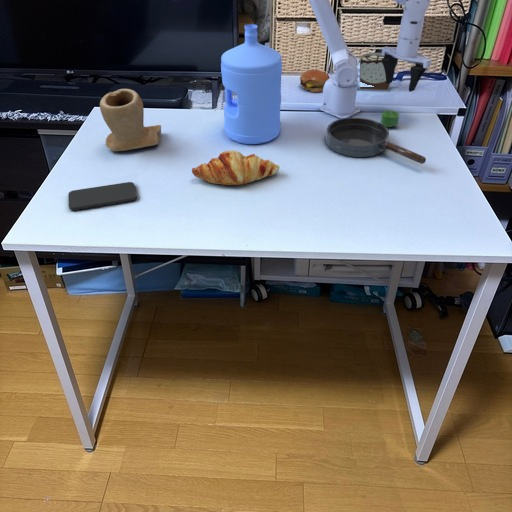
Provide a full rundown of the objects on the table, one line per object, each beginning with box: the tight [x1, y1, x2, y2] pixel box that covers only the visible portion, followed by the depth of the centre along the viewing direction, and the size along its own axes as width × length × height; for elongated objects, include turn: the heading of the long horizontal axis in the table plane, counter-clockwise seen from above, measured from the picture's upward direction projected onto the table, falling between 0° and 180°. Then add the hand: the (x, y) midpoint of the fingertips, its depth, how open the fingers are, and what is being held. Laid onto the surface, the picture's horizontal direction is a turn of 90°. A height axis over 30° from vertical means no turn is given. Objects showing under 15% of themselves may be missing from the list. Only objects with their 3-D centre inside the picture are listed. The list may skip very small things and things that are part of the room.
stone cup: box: [99, 88, 162, 152], centre depth 128 cm, size 15×12×15 cm
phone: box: [67, 181, 138, 211], centre depth 114 cm, size 7×1×15 cm
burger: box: [299, 69, 330, 93], centre depth 160 cm, size 10×9×5 cm
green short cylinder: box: [380, 109, 400, 128], centre depth 139 cm, size 5×5×4 cm
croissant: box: [191, 150, 281, 186], centre depth 119 cm, size 21×10×8 cm, turn 98°
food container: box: [357, 52, 399, 92], centre depth 158 cm, size 12×6×10 cm, turn 84°
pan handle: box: [380, 141, 427, 165], centre depth 123 cm, size 12×2×2 cm, turn 43°
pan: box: [325, 116, 390, 158], centre depth 132 cm, size 16×16×4 cm
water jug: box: [220, 23, 283, 145], centre depth 129 cm, size 16×16×28 cm
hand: (400, 86), depth 141 cm, fingers open, 7 cm apart
